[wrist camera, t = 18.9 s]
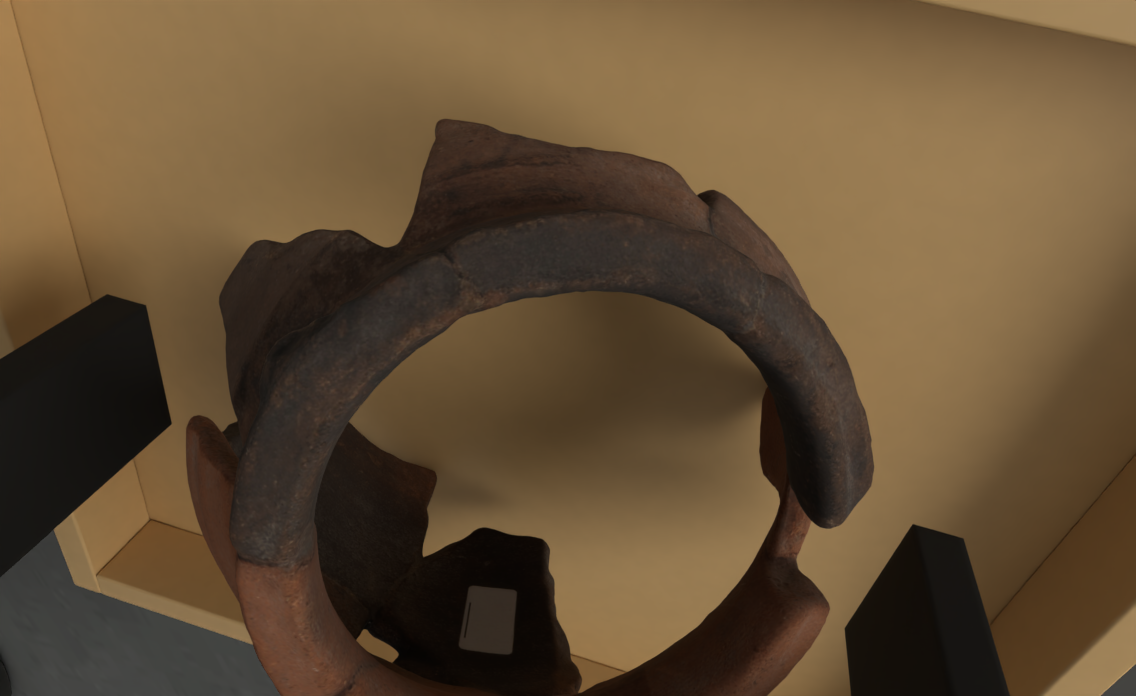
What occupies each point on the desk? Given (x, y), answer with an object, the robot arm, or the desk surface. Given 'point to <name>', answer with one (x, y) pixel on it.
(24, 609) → the desk surface
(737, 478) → the tray
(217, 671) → the desk surface
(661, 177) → the broken clay pot
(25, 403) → the robot arm
